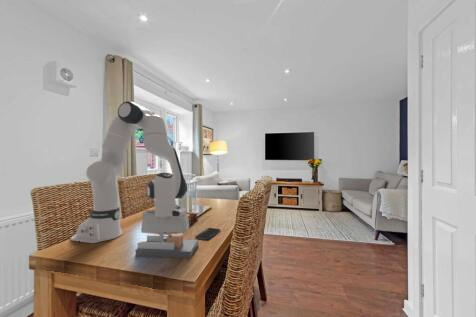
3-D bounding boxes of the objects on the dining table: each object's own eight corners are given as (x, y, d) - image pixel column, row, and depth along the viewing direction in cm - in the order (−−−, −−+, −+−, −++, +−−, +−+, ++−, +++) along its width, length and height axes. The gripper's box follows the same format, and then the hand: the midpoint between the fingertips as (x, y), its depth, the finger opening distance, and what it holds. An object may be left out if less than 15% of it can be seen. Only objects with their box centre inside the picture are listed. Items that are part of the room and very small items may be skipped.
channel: (135, 256, 86) (135, 244, 86) (149, 244, 98) (149, 233, 98) (190, 257, 85) (190, 245, 85) (197, 245, 97) (197, 234, 97)
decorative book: (197, 219, 138) (197, 211, 138) (189, 227, 122) (189, 218, 122) (181, 218, 140) (181, 211, 140) (170, 226, 124) (170, 218, 124)
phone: (194, 237, 105) (208, 227, 119) (194, 239, 105) (208, 229, 119) (208, 239, 102) (221, 229, 116) (208, 241, 102) (221, 231, 116)
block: (167, 247, 89) (167, 237, 89) (172, 242, 94) (172, 233, 94) (179, 247, 89) (179, 238, 89) (183, 242, 94) (183, 233, 94)
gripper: (138, 211, 89) (138, 244, 89) (185, 212, 88) (185, 245, 88) (146, 208, 95) (146, 238, 95) (190, 208, 94) (190, 239, 94)
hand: (165, 241), depth 92 cm, fingers closed
